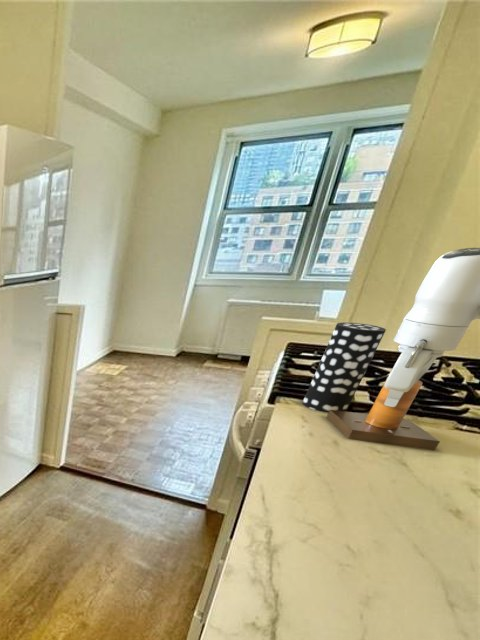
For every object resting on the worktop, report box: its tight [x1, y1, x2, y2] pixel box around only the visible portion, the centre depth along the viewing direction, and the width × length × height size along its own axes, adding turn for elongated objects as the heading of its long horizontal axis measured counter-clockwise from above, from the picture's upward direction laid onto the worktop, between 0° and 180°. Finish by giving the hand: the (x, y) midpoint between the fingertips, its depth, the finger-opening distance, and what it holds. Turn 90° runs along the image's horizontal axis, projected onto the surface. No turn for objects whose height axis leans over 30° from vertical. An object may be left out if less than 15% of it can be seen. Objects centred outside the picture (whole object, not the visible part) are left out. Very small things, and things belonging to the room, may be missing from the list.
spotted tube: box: [302, 322, 387, 414], centre depth 113 cm, size 8×8×20 cm
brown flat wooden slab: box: [326, 410, 441, 451], centre depth 104 cm, size 14×12×3 cm
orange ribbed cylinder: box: [365, 376, 423, 429], centre depth 101 cm, size 5×5×10 cm
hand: (393, 402), depth 101 cm, fingers closed on orange ribbed cylinder, 5 cm apart
